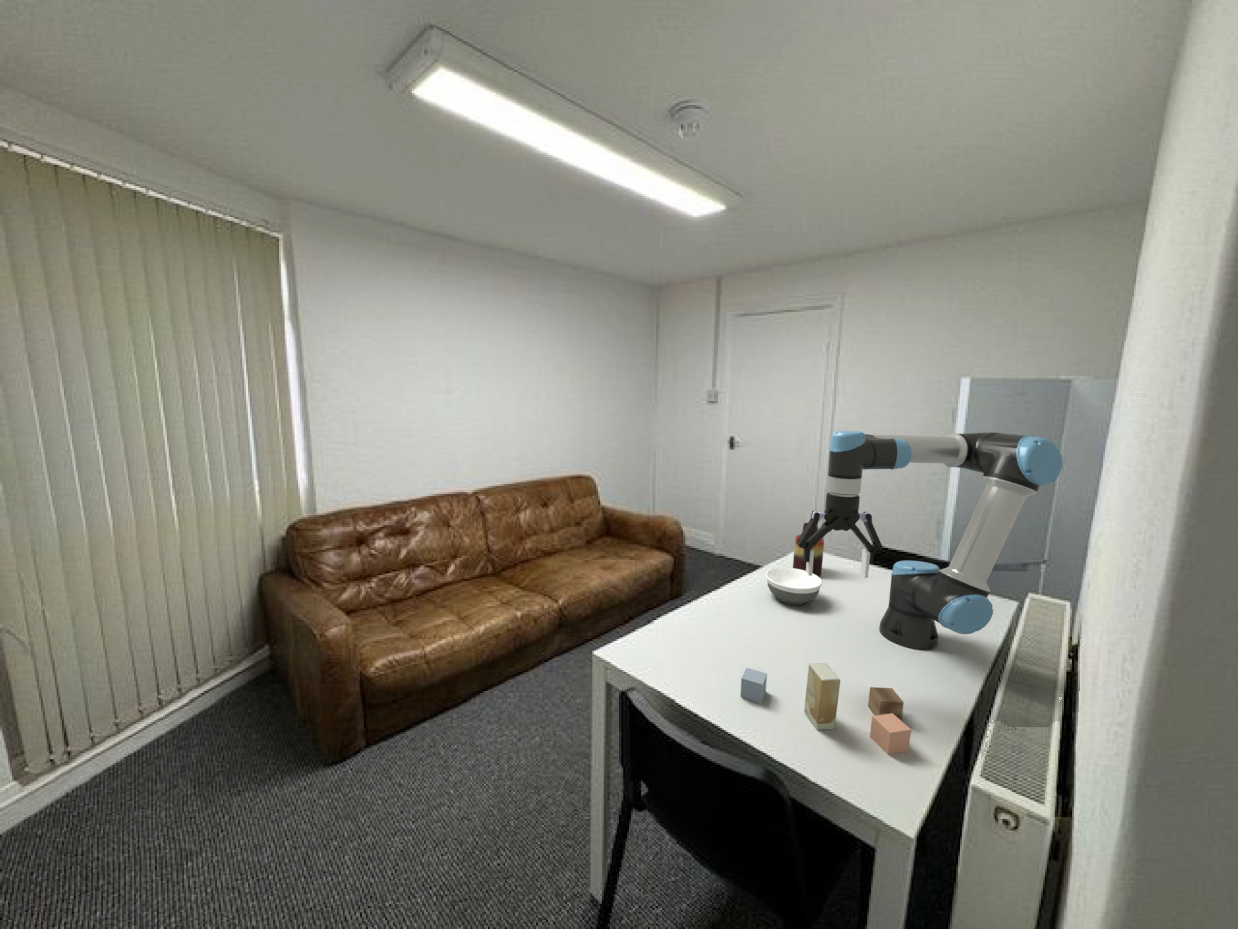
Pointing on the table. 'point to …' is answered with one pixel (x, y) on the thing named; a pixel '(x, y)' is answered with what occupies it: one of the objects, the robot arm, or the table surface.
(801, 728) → the table surface
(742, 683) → the slate cube
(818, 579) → the bowl
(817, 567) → the vase
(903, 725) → the terracotta cube
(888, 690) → the walnut cube
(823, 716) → the skincare box
